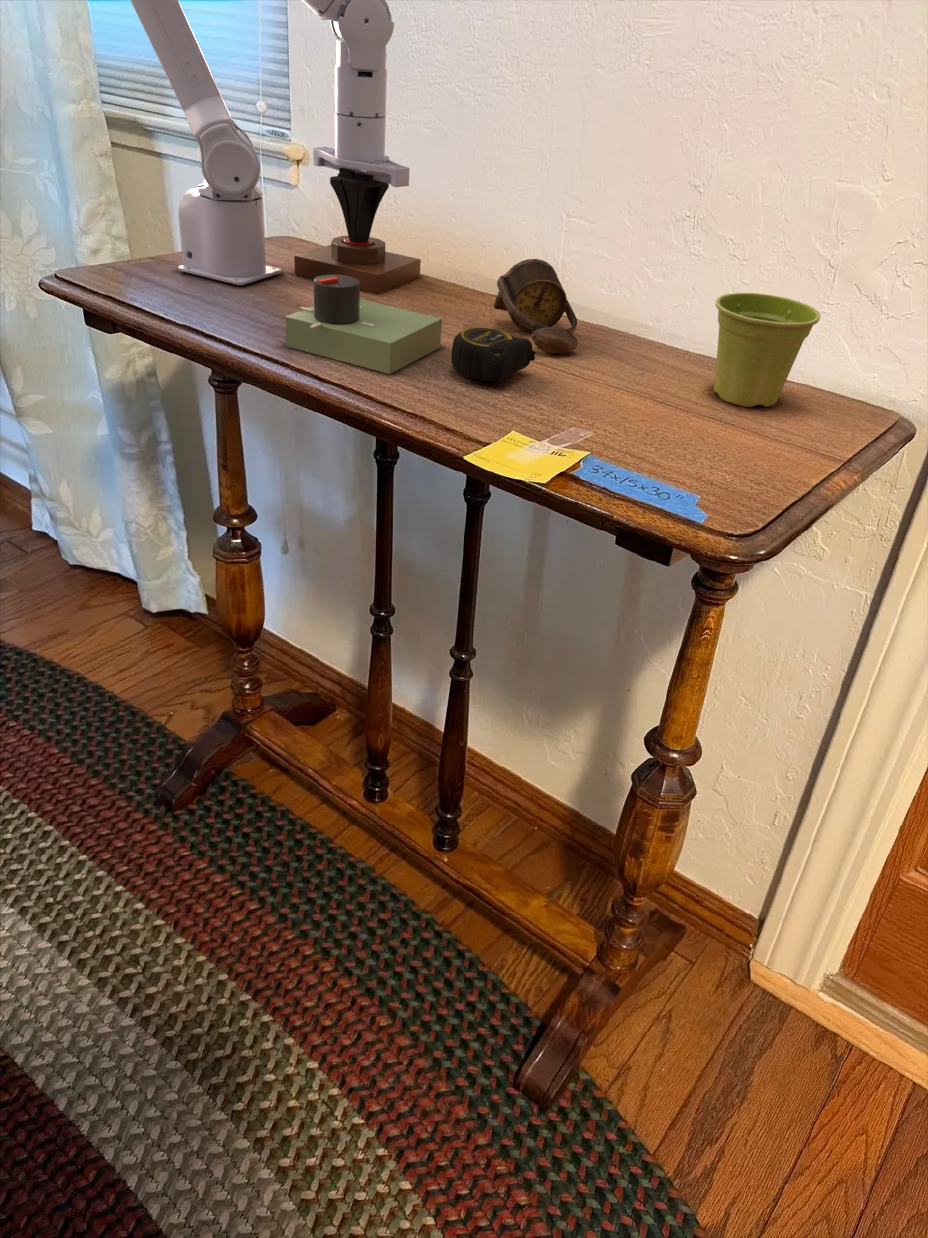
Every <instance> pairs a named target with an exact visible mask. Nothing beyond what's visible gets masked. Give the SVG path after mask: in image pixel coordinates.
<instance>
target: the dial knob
mask: <svg viewBox="0 0 928 1238" xmlns="http://www.w3.org/2000/svg"><path fill="white" fill-rule="evenodd" d="M360 299H361V290H360V281H359V280H358V279H356V278H353V277H350V276H345V275H322V276H318V277H316V278H315V279H313V306H314V316H315V318H316V319H317V320H319V321H322V322H326V323H332V324H348V323H353V322H356V321H358V320H359V314H360Z"/></svg>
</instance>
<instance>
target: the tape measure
mask: <svg viewBox="0 0 928 1238" xmlns="http://www.w3.org/2000/svg"><path fill="white" fill-rule="evenodd" d="M533 349H534V348H533V344H532V342H531V340H530V339H528V338H524V337H518V336H515V335H513V334H511V333H509V332H507V331H505V330H502V329H497V328H492V327H470V328H465V329H462V330H460V331H459V332H458V333H457V334H456V335H455V337H454V338H453V340H452V346H451V365H452V367H453V369H454V370H455V371H456V372H457V373H458V374H460V375H462V376H464V377H466V378H470V379H475V380H482V381H488V382H501V381H503V380H505V379H506V378H508V377H510V376H511V375H514V374H516V373H517V372H520V371H521V370H523V369H526V368H527V367H528V366H529V365H530V363H531V361H532V362H534V361H535V359H536V356H535V355H536V354H537V351H536V350H533Z"/></svg>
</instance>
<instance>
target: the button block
mask: <svg viewBox="0 0 928 1238" xmlns="http://www.w3.org/2000/svg"><path fill="white" fill-rule="evenodd" d="M345 238H349V237H348V235H341V236H336V237H333V238H332V239H331V241H330V242H331V243H330V244H329V245H326V246H322V247H319V248H315V249H311V250H309V251H305V252H302V253H299V254H295V255H294V257H293V259H294V260H293V262H294V275H297V276H300V277H306V278H309V279H313V280H314V279H315V278H316V277H318V276H322V275H345V276H350V277H353V278H356V279H358V280H359V281H360V291H364V292H370V293H373V294H381V293H384V292H385V291H388V290H390V289H393V288H396V287H398V286H401V285H404V284H407V283H408V282H411V281H413V280H416V279H418V278H420V277H421V262H422V260H421V258H417V257H414V256H413V257H412V256H407V255H404V254H398V253H394V252H390V251H386V244H387V243H386V242H385V241H384V240H382V239H379V238H376V237H371V236H369V239H371V240H373V242H374V244H373V245H372V246H352V245H347V244H344V239H345Z"/></svg>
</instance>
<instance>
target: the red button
mask: <svg viewBox="0 0 928 1238" xmlns="http://www.w3.org/2000/svg"><path fill="white" fill-rule="evenodd" d="M344 244H347V245H352V246H372V245H373V244H374V242H373V240H371V239H369V240H368V241H364V242H358V243H356V242H353V241H350V240H349V238H345V239H344Z"/></svg>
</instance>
